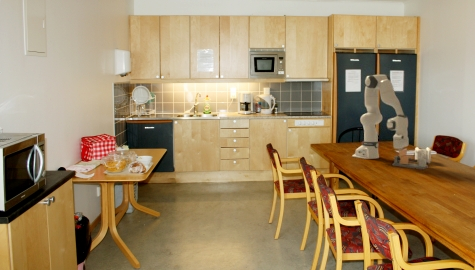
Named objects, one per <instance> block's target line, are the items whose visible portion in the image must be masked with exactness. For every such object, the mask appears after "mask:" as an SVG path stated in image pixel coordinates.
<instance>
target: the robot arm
mask: <svg viewBox="0 0 475 270" xmlns="http://www.w3.org/2000/svg"><path fill="white" fill-rule="evenodd" d="M364 85H365V88H364V107H365V108H366V111H367V112H366V113H364V114H362V115H361V116H360V119H359V120H360V123H361V124H362V126H363V133H364V137H363V138H364V139H363V141H361V145H360V146H359V147H358V148H356V149H355V152H354V154H352V156H351V157H354V158H358V159H363V160H364V159H365V160H370V159H373V160H374V159H379V158H380V156H379V155H380V154H379V141H378V139H379V137H378V136H379V132H378V130H377V127H376V125H378V124H380V123H381V122H382V121H383V115H382V114H381V111H380V108H379V96H380V100H381V102H382V103H384V104H385V105H388V106H391V107H392V108H393V109H394V110H395V114H396V116H394V117H391V118H388V119H387V121H386V128H387V130H389V131H395V134H394V135H393V136H392V138H393V143H392V144H393V149H395V150H398V151H399V150H401V149H404V148H407V147H408V146H409V141H410V140H409V136H408V135H409V133H408V128H409V119H408V116H407V115H406V114H405V111H404V108H403V106H402V102H401V101H400V99H399V98H398V96H396V93H395V88H394V86H393V83H392V81H391V77H390V75H387V74H373V75H372V74H371V75H367V76H366V77H365V80H364Z"/></svg>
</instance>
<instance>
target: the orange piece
mask: <svg viewBox="0 0 475 270" xmlns="http://www.w3.org/2000/svg"><path fill="white" fill-rule="evenodd" d="M407 153H408V148H407V147H404V149H401V150H399V149H398V156H399V157H400V163H401V164H410V163H412V162H411V161H409V159H412V155H408V154H407Z"/></svg>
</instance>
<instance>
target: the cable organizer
mask: <svg viewBox="0 0 475 270" xmlns="http://www.w3.org/2000/svg"><path fill="white" fill-rule="evenodd" d="M431 155H432V149H431V148H430V147H426V148H425V149H421V148H419V147H418V146H417V147H415V148H414V159H416V160H417V159H420V158H425V159H426V163H427V164H428V165H430V164H431V160H432V159H431Z"/></svg>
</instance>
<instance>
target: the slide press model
mask: <svg viewBox="0 0 475 270" xmlns="http://www.w3.org/2000/svg"><path fill="white" fill-rule="evenodd" d="M409 161H411V163H410V164H401V163H400V157H399V154H398V155H395V156H394V161H393V163H392V166H393V167H401V168H408V169H415V168H416V169H417V170H422V169H423V170H425V169H428V168H429V164H428V165H427V161H426V159H425V158H420V159H417V160H416V159H415V158H411V159H409ZM412 162H414V163H412ZM416 169H415V170H416Z"/></svg>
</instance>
